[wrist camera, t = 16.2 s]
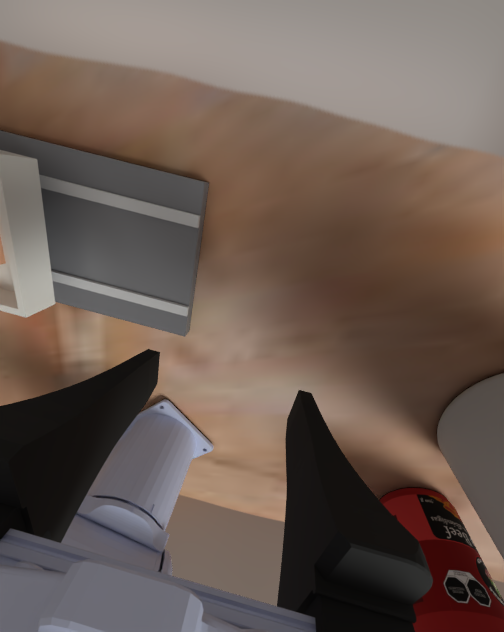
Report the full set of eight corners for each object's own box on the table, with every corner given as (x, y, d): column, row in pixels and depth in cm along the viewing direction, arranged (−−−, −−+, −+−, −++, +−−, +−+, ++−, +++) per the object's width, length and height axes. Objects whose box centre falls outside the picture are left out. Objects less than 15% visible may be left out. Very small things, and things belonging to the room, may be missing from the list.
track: (208, 182, 18) (194, 180, 15) (189, 331, 23) (175, 349, 21) (-91, 107, 19) (-156, 92, 16) (-44, 268, 24) (-87, 278, 21)
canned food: (465, 516, 29) (557, 687, 19) (395, 534, 32) (442, 690, 22) (431, 476, 27) (514, 641, 17) (360, 498, 30) (395, 651, 20)
